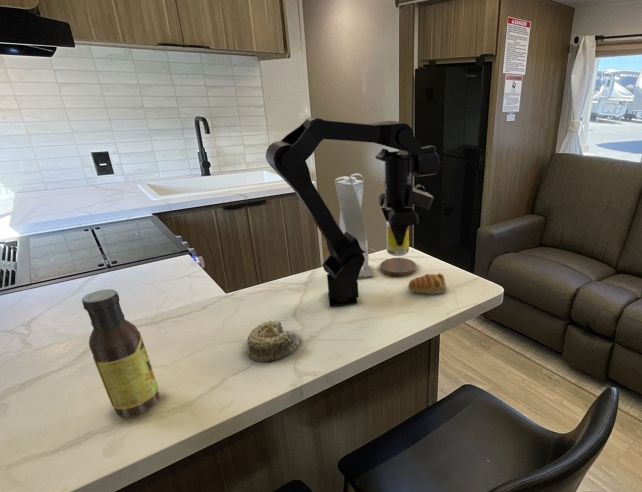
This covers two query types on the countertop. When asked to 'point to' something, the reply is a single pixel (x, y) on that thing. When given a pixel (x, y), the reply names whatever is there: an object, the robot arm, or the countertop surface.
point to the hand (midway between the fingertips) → (397, 241)
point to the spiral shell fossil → (270, 342)
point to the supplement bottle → (392, 245)
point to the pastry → (428, 284)
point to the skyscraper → (353, 214)
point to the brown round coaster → (398, 267)
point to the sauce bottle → (120, 356)
